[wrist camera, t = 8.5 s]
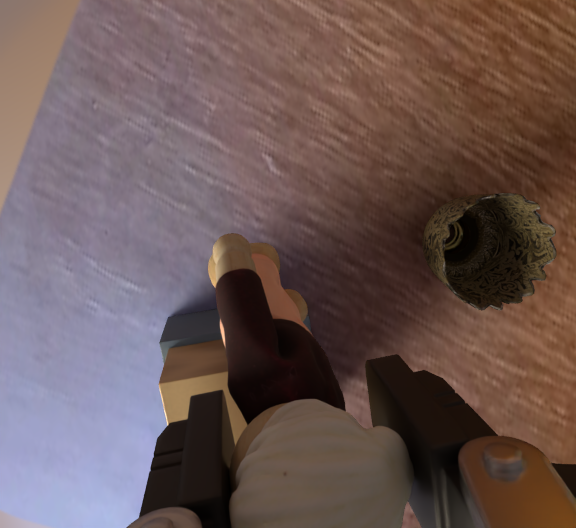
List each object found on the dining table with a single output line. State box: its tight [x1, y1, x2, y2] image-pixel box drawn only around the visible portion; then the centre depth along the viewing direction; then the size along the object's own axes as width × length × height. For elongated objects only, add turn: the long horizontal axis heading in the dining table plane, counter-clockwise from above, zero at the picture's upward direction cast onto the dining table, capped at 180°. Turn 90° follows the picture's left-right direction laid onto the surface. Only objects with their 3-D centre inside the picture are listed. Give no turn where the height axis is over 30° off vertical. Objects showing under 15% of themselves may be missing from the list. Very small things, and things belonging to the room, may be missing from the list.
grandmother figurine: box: [208, 233, 414, 528], centre depth 13 cm, size 8×4×13 cm, turn 38°
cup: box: [422, 193, 557, 310], centre depth 33 cm, size 8×7×8 cm
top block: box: [159, 339, 248, 446], centre depth 30 cm, size 9×9×5 cm
